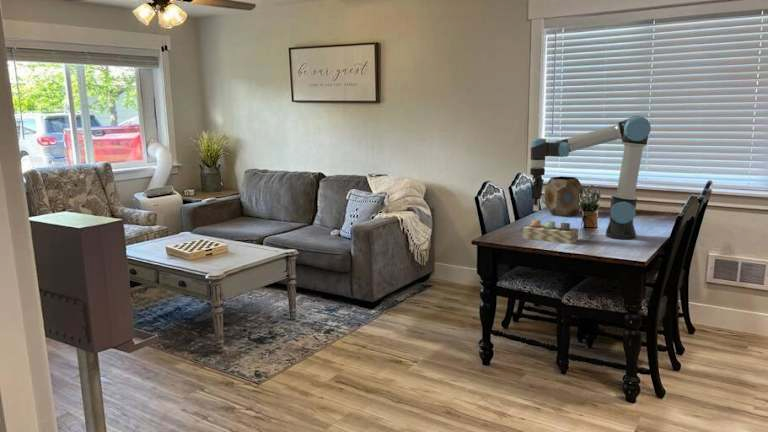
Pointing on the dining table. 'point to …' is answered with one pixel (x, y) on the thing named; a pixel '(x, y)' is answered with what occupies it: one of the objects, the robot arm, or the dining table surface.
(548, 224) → the button sage
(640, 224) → the dining table surface
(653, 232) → the dining table surface
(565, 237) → the beige woven box
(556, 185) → the brown dodecahedron
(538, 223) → the button terracotta
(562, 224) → the button charcoal
